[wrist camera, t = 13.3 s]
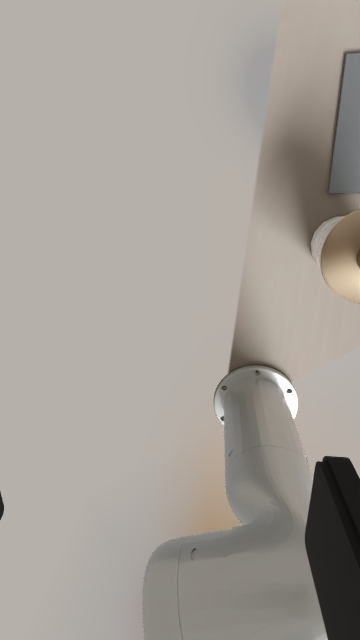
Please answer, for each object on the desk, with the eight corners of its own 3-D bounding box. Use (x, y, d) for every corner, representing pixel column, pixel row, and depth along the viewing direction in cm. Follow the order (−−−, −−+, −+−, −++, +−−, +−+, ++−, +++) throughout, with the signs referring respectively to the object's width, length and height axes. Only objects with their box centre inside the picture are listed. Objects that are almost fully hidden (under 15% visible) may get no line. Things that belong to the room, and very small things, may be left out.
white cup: (383, 227, 41) (431, 236, 32) (346, 283, 44) (380, 306, 35) (327, 200, 41) (359, 200, 32) (293, 257, 44) (313, 273, 35)
